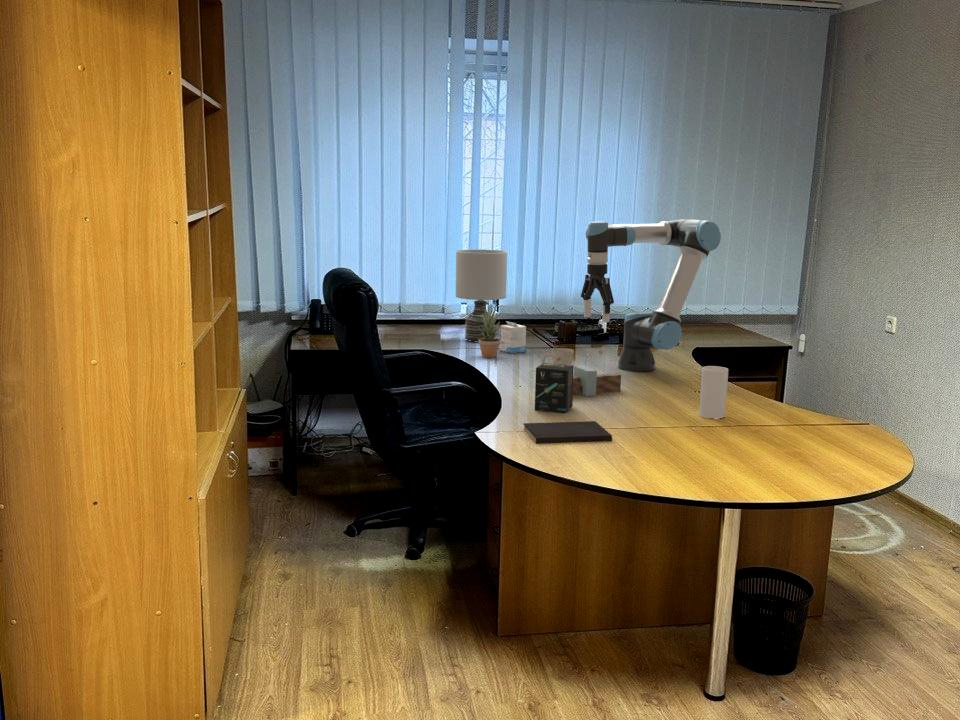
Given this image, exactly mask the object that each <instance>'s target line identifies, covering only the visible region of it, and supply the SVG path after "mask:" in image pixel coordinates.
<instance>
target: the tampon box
mask: <svg viewBox="0 0 960 720" xmlns="http://www.w3.org/2000/svg"><path fill="white" fill-rule="evenodd" d="M574 366H575V365H561V364H553V363H546V362H545V363H543V364H542V363H541V364H540V365H538V366H537V367H536V368H535V384H534V385H535V387H534V388H535V389H534V390H535V391H534V411H539V412H547V413H549V412H550V413H551V412H552V413H558V414H559V413H560V414H566V413H567V412H568V411H570V409H571V408H572V407H573V405H574V404H573V399H574V398H573V397H574V395H573V376H574Z"/></svg>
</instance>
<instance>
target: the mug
mask: <svg viewBox="0 0 960 720" xmlns="http://www.w3.org/2000/svg"><path fill="white" fill-rule="evenodd" d="M551 351H552V352H550V353H548V352H547V353H545V354H544V355H543V356H542V358H541V364H543V363H546V359H547V358H548V357H552V360H553V362H552V364H561V365H572V364H573V358H574V352H575V351H574V350H573V349H571V348H566V347H565V348H564V347H560V348H552V350H551Z"/></svg>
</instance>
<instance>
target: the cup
mask: <svg viewBox="0 0 960 720" xmlns="http://www.w3.org/2000/svg"><path fill="white" fill-rule="evenodd" d="M701 370H702V371H701V381H700V382H701V385H700V396H699V397H700V398H699V413H698V416H699V415H700V416H702V417H701V418H703V417H706V418H705V419H707V418H723V417H726V407H727V394H728V380H729V368H727V367H723V366H719V365H718V366H717V365H707V366H706V365H705V366H702V369H701ZM700 416H699V417H700ZM723 419H724V418H723Z"/></svg>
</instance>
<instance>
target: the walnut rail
mask: <svg viewBox="0 0 960 720" xmlns="http://www.w3.org/2000/svg"><path fill="white" fill-rule="evenodd" d="M621 385H622V375H621V374H620V373H617V372H616V373H605V374H604V373H602V374H597V380H596V394H598V393H599V394H600V393H601V394H602V393H613V392H621V387H622V386H621ZM582 389H583V386H581V385H580V377H577V376H574V375H573V396H574V395H582Z"/></svg>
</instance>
